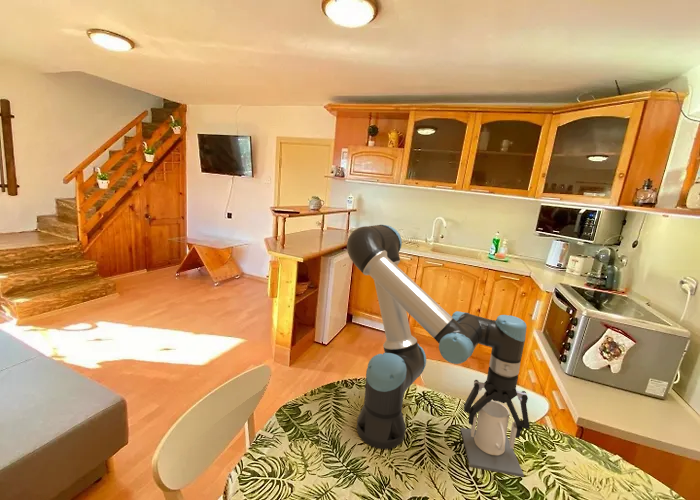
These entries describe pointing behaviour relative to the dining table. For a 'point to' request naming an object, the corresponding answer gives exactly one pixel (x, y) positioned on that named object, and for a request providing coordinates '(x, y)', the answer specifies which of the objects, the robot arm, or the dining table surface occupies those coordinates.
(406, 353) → the robot arm
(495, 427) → the mug
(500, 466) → the coaster
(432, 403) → the dining table surface
